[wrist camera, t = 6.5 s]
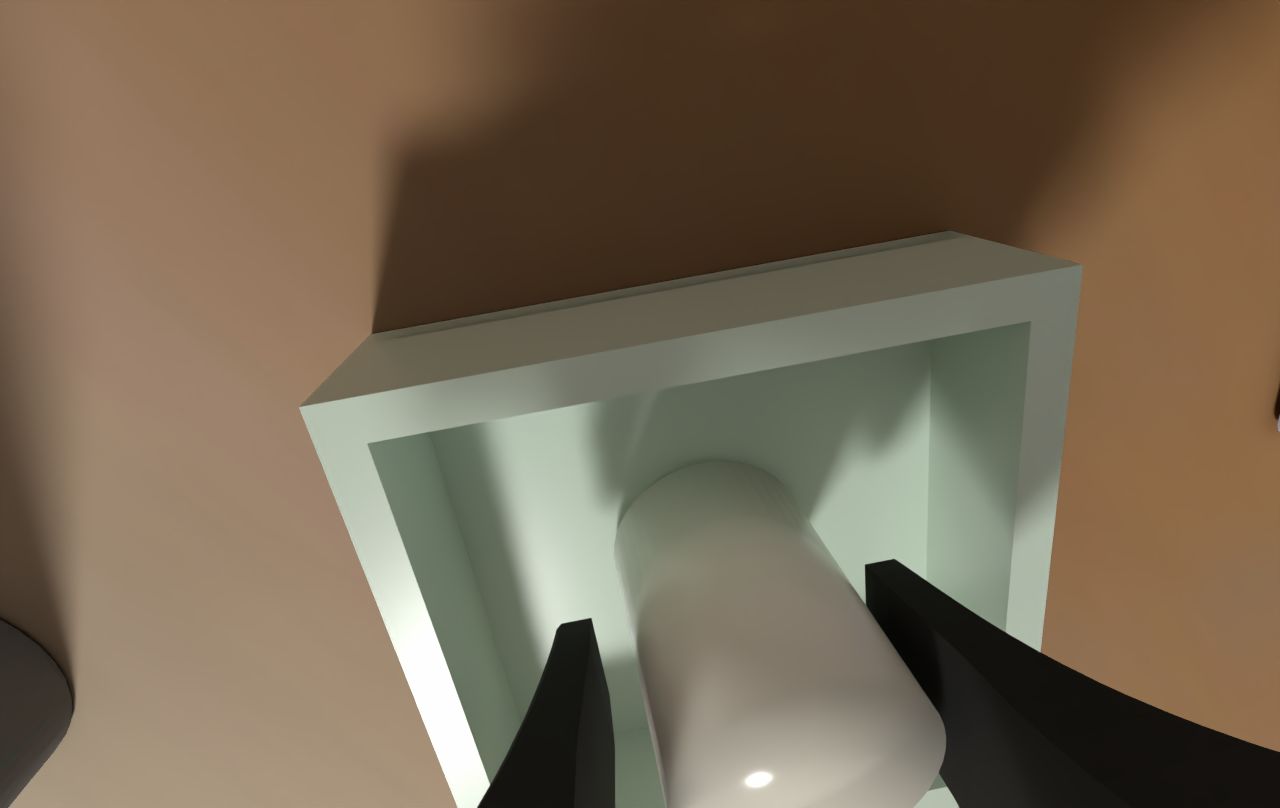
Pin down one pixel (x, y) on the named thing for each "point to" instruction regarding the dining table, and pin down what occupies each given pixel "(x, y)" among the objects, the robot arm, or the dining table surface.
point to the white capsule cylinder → (763, 655)
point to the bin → (695, 458)
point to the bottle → (28, 710)
